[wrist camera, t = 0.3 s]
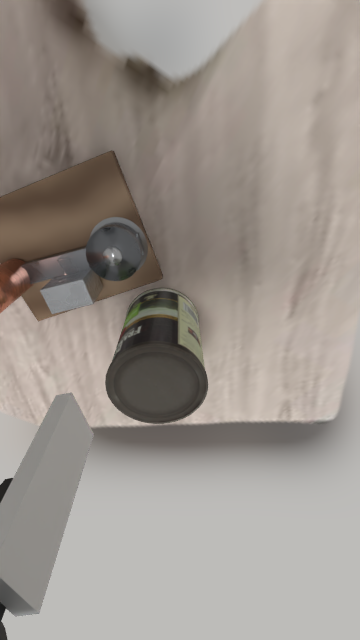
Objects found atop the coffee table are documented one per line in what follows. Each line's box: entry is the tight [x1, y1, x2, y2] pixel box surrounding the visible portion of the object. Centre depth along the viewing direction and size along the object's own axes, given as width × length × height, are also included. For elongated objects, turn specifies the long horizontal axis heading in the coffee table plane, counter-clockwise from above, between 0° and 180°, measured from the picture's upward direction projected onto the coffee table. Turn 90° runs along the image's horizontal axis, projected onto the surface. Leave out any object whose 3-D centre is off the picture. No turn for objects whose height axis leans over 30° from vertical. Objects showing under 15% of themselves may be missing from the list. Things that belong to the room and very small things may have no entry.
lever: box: [0, 222, 145, 314], centre depth 32 cm, size 18×7×11 cm, turn 104°
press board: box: [0, 151, 163, 321], centre depth 36 cm, size 15×18×2 cm
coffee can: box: [105, 288, 208, 424], centre depth 36 cm, size 10×10×14 cm
